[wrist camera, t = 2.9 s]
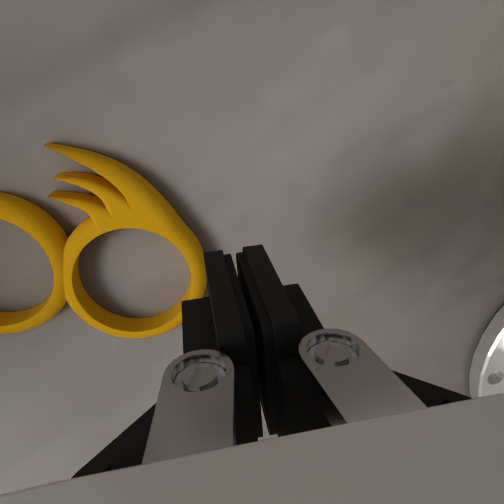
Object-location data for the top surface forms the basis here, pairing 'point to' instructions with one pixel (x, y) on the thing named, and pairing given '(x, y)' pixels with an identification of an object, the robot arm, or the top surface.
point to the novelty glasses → (99, 221)
